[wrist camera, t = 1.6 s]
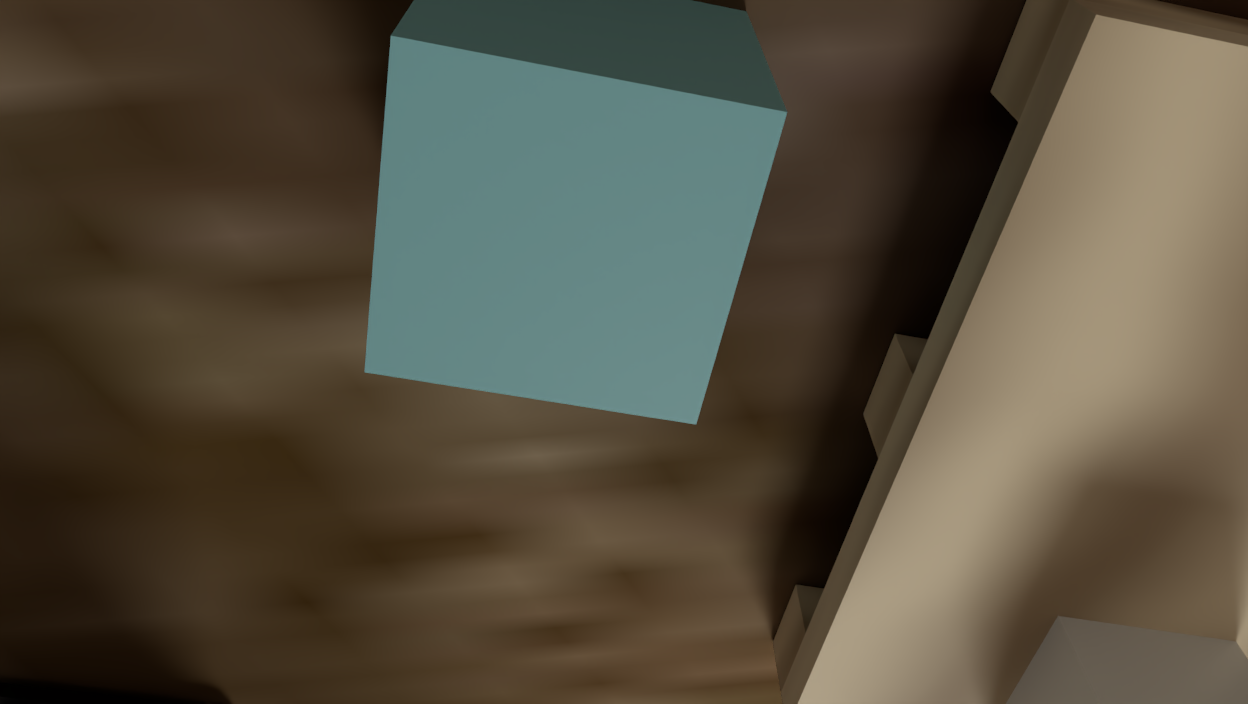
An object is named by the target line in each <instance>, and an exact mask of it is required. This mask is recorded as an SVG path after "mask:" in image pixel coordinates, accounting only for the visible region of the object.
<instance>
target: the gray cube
mask: <svg viewBox="0 0 1248 704" xmlns="http://www.w3.org/2000/svg"><path fill="white" fill-rule="evenodd" d="M1006 704H1248V659H1247V657H1246V656H1245V654H1244V653H1243V651H1242V650H1241V648H1240V647H1239V645H1238V643H1237V642H1236V641H1230V640H1223V639H1216V638H1209V637H1202V636H1195V635H1188V634H1181V633H1174V632H1167V631H1160V630H1153V629H1146V628H1139V627H1132V626H1125V625H1118V624H1111V623H1104V622H1097V621H1090V620H1083V619H1076V618H1069V617H1062V616H1058V617H1057V618H1056V620H1055V622H1054V623H1053V625H1052V627H1051V628H1050V630H1049V632H1048V634H1047V635H1046V637H1045V639H1044V640H1043V642H1042V644H1041V645H1040V647H1039V649H1038V650H1037V652H1036V654H1035V655H1034V657H1033V659H1032V660H1031V662H1030V664H1029V666H1028V667H1027V669H1026V671H1025V672H1024V674H1023V676H1022V677H1021V679H1020V681H1019V682H1018V684H1017V686H1016V687H1015V689H1014V691H1013V692H1012V694H1011V696H1010V698H1009V699H1008V701H1007V703H1006Z"/></svg>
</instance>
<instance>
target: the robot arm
mask: <svg viewBox="0 0 1248 704" xmlns="http://www.w3.org/2000/svg"><path fill="white" fill-rule="evenodd" d="M0 704H175V703H166V702H158V701H150V700H142V699H133V698H125V697H117V696H109V695H100V694H92V693H84V692H76V691H67V690H59V689H51V688H43V687H34V686H26V685H18V684H10V683H1V682H0Z"/></svg>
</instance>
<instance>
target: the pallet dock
mask: <svg viewBox="0 0 1248 704" xmlns="http://www.w3.org/2000/svg"><path fill="white" fill-rule="evenodd" d="M990 92H991V93H992V95H993V96H994V97H995V98H996V99H997V100H998V101H999V102H1000V103H1001V104H1002V105H1003V106H1004V107H1005V108H1006V110H1007V111H1008V112H1009V113H1010V114H1011V115H1012V116H1013V117H1014V118H1015V119H1016V120H1017V121H1018V124H1017V127H1016V129H1015V132H1014V134H1013V136H1012V139H1011V141H1010V144H1009V146H1008V148H1007V151H1006V153H1005V156H1004V158H1003V160H1002V163H1001V165H1000V168H999V170H998V172H997V175H996V177H995V180H994V182H993V184H992V187H991V189H990V192H989V194H988V196H987V199H986V201H985V204H984V206H983V208H982V211H981V213H980V216H979V218H978V220H977V223H976V225H975V228H974V230H973V232H972V235H971V237H970V240H969V242H968V244H967V247H966V249H965V252H964V254H963V256H962V259H961V261H960V264H959V266H958V268H957V271H956V273H955V276H954V278H953V280H952V283H951V285H950V288H949V290H948V292H947V295H946V297H945V300H944V302H943V304H942V307H941V309H940V312H939V314H938V316H937V319H936V321H935V324H934V326H933V328H932V331H931V333H930V336H929V338H928V339H923V338H917V337H911V336H906V335H900V334H894V337H893V339H892V342H891V344H890V347H889V349H888V352H887V355H886V357H885V360H884V362H883V365H882V367H881V370H880V372H879V375H878V377H877V380H876V382H875V385H874V387H873V390H872V393H871V395H870V398H869V400H868V403H867V405H866V408H865V410H864V413H863V415H864V418H865V421H866V424H867V427H868V430H869V433H870V436H871V439H872V442H873V445H874V448H875V450H876V453H877V456H878V461H877V463H876V465H875V468H874V470H873V473H872V475H871V477H870V480H869V482H868V485H867V487H866V489H865V492H864V494H863V497H862V499H861V501H860V504H859V506H858V509H857V511H856V513H855V516H854V518H853V521H852V523H851V525H850V528H849V530H848V533H847V535H846V537H845V540H844V542H843V545H842V547H841V549H840V552H839V554H838V557H837V559H836V561H835V564H834V566H833V569H832V571H831V573H830V576H829V578H828V581H827V583H826V585H825V588H817V587H810V586H803V585H795V587H794V590H793V592H792V595H791V598H790V600H789V603H788V605H787V608H786V610H785V613H784V615H783V618H782V620H781V623H780V625H779V628H778V630H777V633H776V635H775V638H774V641H773V648H774V654H775V660H776V666H777V672H778V679H779V685H780V691H781V697H782V703H783V704H1006V703H1007V701H1008V699H1009V698H1010V696H1011V694H1012V692H1013V691H1014V689H1015V687H1016V686H1017V684H1018V682H1019V681H1020V679H1021V677H1022V676H1023V674H1024V672H1025V671H1026V669H1027V667H1028V666H1029V664H1030V662H1031V660H1032V659H1033V657H1034V655H1035V654H1036V652H1037V650H1038V649H1039V647H1040V645H1041V644H1042V642H1043V640H1044V639H1045V637H1046V635H1047V634H1048V632H1049V630H1050V628H1051V627H1052V625H1053V623H1054V622H1055V620H1056V618H1057V617H1058V616H1062V617H1069V618H1076V619H1083V620H1090V621H1097V622H1104V623H1111V624H1118V625H1125V626H1132V627H1139V628H1146V629H1153V630H1160V631H1167V632H1174V633H1181V634H1188V635H1195V636H1202V637H1209V638H1216V639H1223V640H1230V641H1236V642H1237V643H1238V645H1239V647H1240V648H1241V650H1242V651H1243V653H1244V654H1245V656H1246V657H1247V658H1248V20H1246V19H1241V18H1236V17H1232V16H1227V15H1222V14H1218V13H1213V12H1208V11H1204V10H1199V9H1194V8H1190V7H1185V6H1180V5H1176V4H1171V3H1166V2H1162V1H1157V0H1026V3H1025V5H1024V8H1023V10H1022V13H1021V15H1020V18H1019V20H1018V23H1017V26H1016V28H1015V31H1014V33H1013V36H1012V38H1011V41H1010V43H1009V46H1008V48H1007V51H1006V53H1005V56H1004V58H1003V61H1002V63H1001V66H1000V69H999V71H998V74H997V76H996V79H995V81H994V84H993V86H992V89H991V91H990Z"/></svg>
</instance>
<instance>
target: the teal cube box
mask: <svg viewBox="0 0 1248 704" xmlns="http://www.w3.org/2000/svg"><path fill="white" fill-rule="evenodd" d="M786 115H787V110H786V108H785V105H784V103H783V101H782V98H781V96H780V93H779V91H778V88H777V86H776V83H775V81H774V78H773V76H772V73H771V71H770V69H769V66H768V64H767V61H766V59H765V56H764V54H763V51H762V49H761V46H760V44H759V41H758V39H757V37H756V34H755V32H754V29H753V27H752V24H751V22H750V19H749V17H748V14H747V12H746V11H742V10H737V9H732V8H727V7H722V6H717V5H712V4H708V3H703V2H698V1H693V0H414V1H413V2H412V4H411V5H410V7H409V8H408V10H407V12H406V13H405V15H404V16H403V18H402V19H401V21H400V22H399V24H398V25H397V27H396V28H395V30H394V31H393V33H392V34H391V39H390V52H389V65H388V78H387V91H386V103H385V116H384V129H383V142H382V155H381V167H380V180H379V193H378V206H377V219H376V231H375V244H374V257H373V270H372V283H371V296H370V308H369V321H368V334H367V347H366V360H365V372H366V373H373V374H379V375H385V376H392V377H398V378H404V379H411V380H417V381H423V382H430V383H436V384H442V385H449V386H455V387H462V388H468V389H474V390H481V391H487V392H493V393H500V394H506V395H512V396H519V397H525V398H531V399H538V400H544V401H550V402H557V403H563V404H569V405H576V406H582V407H588V408H595V409H601V410H607V411H614V412H620V413H626V414H633V415H639V416H645V417H652V418H658V419H665V420H671V421H677V422H684V423H690V424H696V423H697V420H698V416H699V413H700V409H701V406H702V402H703V399H704V396H705V392H706V389H707V385H708V382H709V378H710V375H711V372H712V368H713V365H714V361H715V358H716V355H717V351H718V348H719V344H720V341H721V337H722V334H723V331H724V327H725V324H726V320H727V317H728V313H729V310H730V307H731V303H732V300H733V296H734V293H735V289H736V286H737V283H738V279H739V276H740V272H741V269H742V265H743V262H744V259H745V255H746V252H747V248H748V245H749V241H750V238H751V235H752V231H753V228H754V224H755V221H756V217H757V214H758V211H759V207H760V204H761V200H762V197H763V194H764V190H765V187H766V183H767V180H768V176H769V173H770V170H771V166H772V163H773V159H774V156H775V152H776V149H777V146H778V142H779V139H780V135H781V132H782V128H783V125H784V122H785V118H786Z"/></svg>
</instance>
